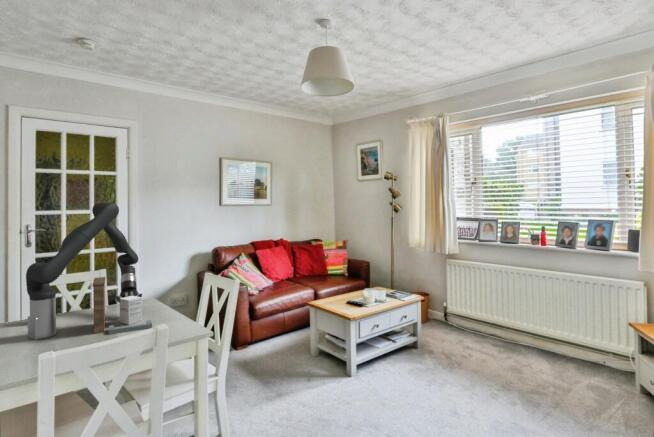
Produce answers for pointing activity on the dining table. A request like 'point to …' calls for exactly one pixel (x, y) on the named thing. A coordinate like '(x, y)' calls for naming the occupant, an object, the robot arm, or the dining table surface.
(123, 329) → the slate bay
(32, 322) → the robot arm
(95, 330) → the walnut partition
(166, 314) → the dining table surface
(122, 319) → the supplement box
